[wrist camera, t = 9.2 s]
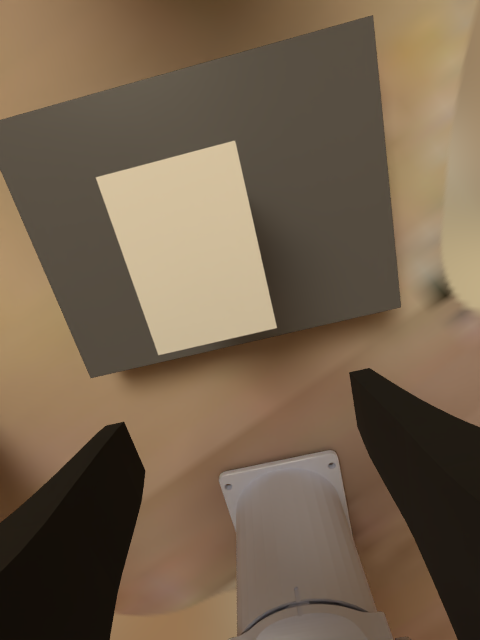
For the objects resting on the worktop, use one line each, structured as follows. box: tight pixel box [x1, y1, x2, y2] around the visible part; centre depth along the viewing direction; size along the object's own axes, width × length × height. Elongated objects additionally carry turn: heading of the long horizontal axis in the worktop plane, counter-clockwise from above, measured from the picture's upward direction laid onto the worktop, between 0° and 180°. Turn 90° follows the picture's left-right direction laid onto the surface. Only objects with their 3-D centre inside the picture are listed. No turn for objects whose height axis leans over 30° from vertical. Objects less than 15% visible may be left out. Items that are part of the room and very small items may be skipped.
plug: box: [96, 141, 277, 355], centre depth 13 cm, size 5×3×8 cm
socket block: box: [0, 15, 401, 378], centre depth 18 cm, size 12×16×3 cm
